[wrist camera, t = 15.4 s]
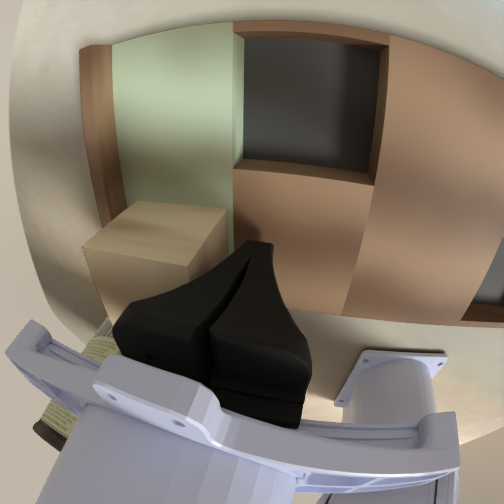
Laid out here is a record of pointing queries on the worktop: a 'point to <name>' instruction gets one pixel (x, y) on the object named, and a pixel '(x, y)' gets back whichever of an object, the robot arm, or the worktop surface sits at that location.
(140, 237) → the block
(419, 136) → the board
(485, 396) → the worktop surface
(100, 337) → the coffee can
